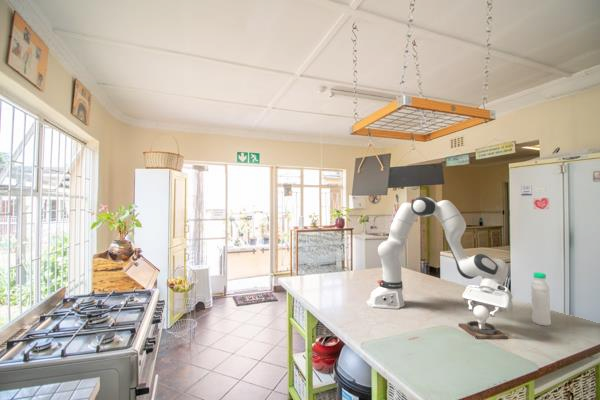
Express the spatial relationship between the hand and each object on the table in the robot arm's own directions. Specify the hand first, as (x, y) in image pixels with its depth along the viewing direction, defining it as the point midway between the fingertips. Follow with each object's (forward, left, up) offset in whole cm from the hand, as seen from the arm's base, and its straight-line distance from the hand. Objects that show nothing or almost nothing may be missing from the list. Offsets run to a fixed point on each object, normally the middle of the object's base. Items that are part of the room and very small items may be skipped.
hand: (480, 313), depth 131 cm
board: (0, 0, -9) cm, 9 cm away
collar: (0, 0, -8) cm, 8 cm away
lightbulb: (0, 0, -8) cm, 8 cm away
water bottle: (+36, +10, -9) cm, 39 cm away
